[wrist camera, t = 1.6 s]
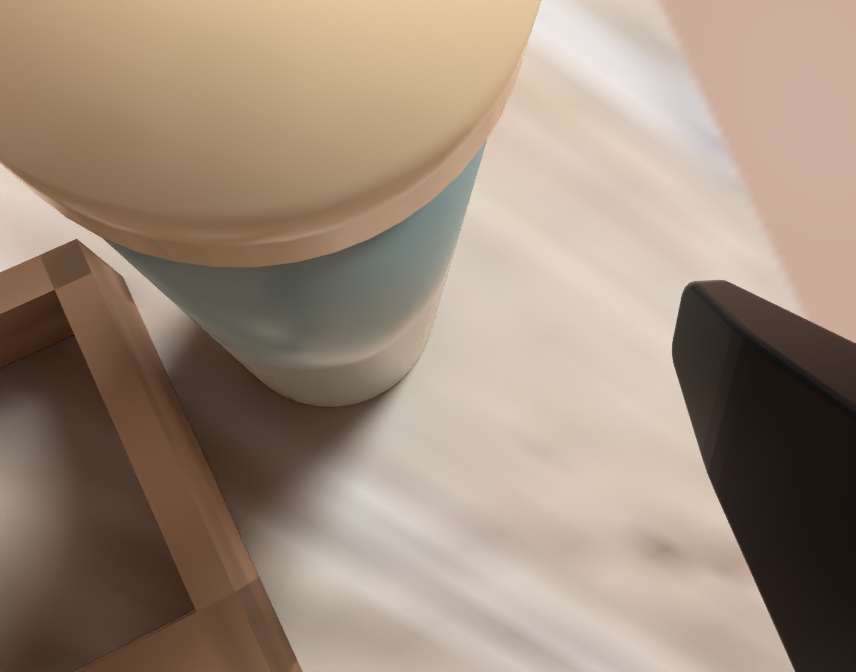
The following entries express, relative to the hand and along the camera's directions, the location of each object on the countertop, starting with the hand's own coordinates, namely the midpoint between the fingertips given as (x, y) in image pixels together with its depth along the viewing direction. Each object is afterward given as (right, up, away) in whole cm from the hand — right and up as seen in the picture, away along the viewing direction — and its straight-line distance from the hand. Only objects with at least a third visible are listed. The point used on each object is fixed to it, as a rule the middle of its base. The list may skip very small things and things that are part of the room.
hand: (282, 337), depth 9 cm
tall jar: (-1, +1, +11) cm, 11 cm away
